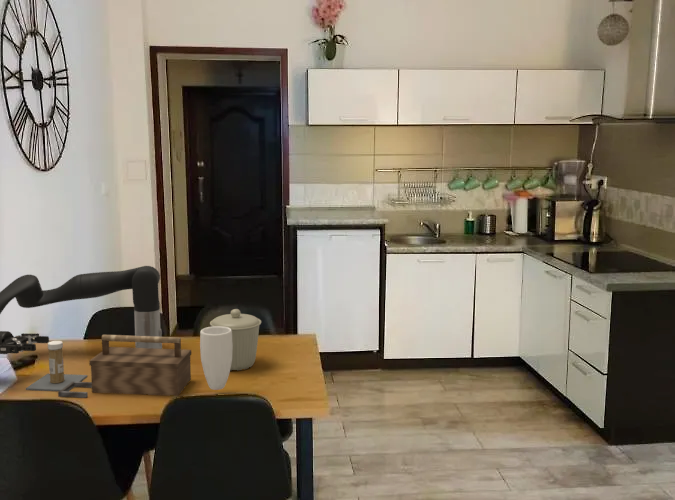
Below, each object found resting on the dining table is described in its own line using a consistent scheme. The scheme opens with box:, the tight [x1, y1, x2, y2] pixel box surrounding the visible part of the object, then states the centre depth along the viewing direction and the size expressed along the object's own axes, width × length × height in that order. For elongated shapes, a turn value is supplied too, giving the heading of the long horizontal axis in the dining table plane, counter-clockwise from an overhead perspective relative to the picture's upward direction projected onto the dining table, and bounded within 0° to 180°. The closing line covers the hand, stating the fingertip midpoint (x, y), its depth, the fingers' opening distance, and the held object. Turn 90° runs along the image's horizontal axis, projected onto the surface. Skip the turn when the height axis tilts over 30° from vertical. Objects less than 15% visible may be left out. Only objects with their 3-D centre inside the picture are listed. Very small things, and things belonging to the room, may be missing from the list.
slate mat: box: [25, 373, 88, 392], centre depth 219 cm, size 14×14×1 cm
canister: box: [209, 308, 262, 371], centre depth 237 cm, size 18×18×21 cm
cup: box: [199, 326, 233, 391], centre depth 209 cm, size 10×10×22 cm
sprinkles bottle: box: [47, 340, 65, 383], centre depth 218 cm, size 5×5×13 cm
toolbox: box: [57, 334, 192, 399], centre depth 215 cm, size 37×19×17 cm, turn 86°
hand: (42, 343), depth 218 cm, fingers open, 8 cm apart
